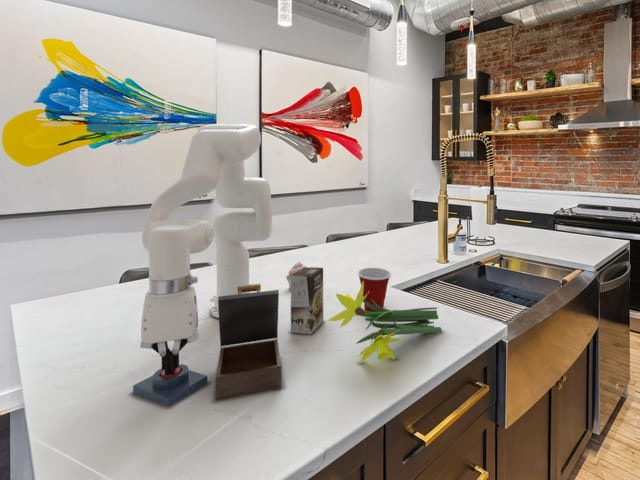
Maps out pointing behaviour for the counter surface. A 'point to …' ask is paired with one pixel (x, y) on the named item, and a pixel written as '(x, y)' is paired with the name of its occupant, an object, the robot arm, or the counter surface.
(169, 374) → the red push button
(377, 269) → the plastic cup
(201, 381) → the blue button base
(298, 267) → the cupcake
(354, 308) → the daffodil flowers
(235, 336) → the dark slab with handle
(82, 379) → the counter surface
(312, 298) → the coffee box
